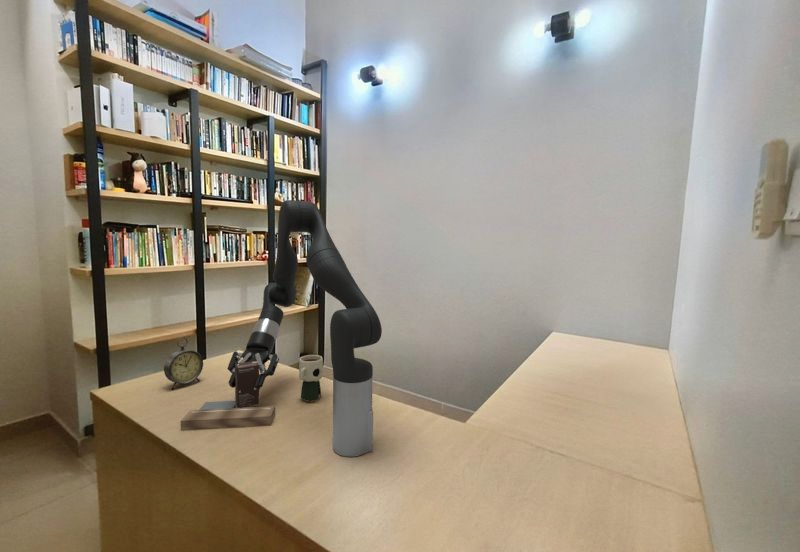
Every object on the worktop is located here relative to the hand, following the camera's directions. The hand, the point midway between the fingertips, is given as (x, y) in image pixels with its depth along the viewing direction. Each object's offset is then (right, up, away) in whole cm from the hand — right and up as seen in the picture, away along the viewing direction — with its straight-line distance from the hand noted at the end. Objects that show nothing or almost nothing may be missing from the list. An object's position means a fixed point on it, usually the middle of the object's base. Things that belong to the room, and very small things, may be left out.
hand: (244, 387), depth 102 cm
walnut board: (-1, -7, -6) cm, 10 cm away
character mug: (+17, -7, +10) cm, 20 cm away
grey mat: (-8, -7, +1) cm, 11 cm away
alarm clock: (-28, -5, +18) cm, 34 cm away
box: (0, -6, +2) cm, 6 cm away
